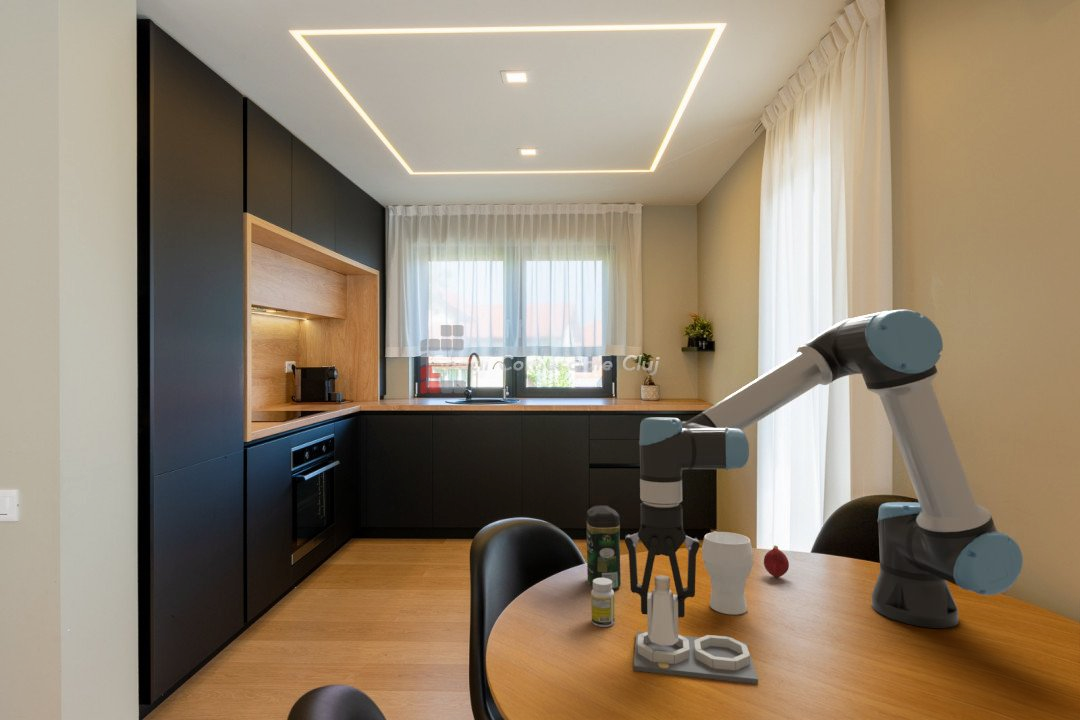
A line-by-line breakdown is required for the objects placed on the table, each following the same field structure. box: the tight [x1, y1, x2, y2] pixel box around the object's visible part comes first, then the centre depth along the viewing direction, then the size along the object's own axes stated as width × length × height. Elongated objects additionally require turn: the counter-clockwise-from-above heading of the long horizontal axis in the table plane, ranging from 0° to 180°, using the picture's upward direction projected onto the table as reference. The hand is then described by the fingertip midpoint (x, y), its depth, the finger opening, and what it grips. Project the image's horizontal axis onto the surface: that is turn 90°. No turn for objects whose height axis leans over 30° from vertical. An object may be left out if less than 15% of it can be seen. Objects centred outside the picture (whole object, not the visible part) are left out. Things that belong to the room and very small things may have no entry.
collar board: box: [633, 631, 759, 685], centre depth 96 cm, size 20×13×2 cm, turn 78°
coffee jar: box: [586, 505, 622, 591], centre depth 132 cm, size 10×8×19 cm
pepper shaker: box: [648, 574, 679, 646], centre depth 98 cm, size 5×5×11 cm
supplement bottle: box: [590, 578, 616, 628], centre depth 111 cm, size 5×5×8 cm
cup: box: [701, 531, 754, 615], centre depth 118 cm, size 11×11×15 cm
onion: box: [763, 544, 790, 579], centre depth 135 cm, size 6×6×8 cm
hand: (662, 632), depth 97 cm, fingers closed on pepper shaker, 4 cm apart
